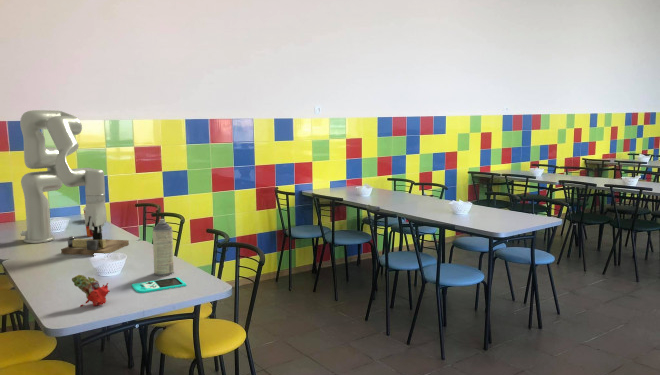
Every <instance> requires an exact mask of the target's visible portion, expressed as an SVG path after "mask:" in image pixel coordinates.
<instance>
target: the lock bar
mask: <svg viewBox="0 0 660 375" xmlns="http://www.w3.org/2000/svg"><path fill="white" fill-rule="evenodd" d="M104 239H105V238H104ZM104 239H103V238H102V239H93V238H75V236H73V235H71V236H69V237H68V238H67V247H87V240H98V245H99V248H104V247H106V240H104Z"/></svg>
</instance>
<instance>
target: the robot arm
mask: <svg viewBox="0 0 660 375" xmlns="http://www.w3.org/2000/svg"><path fill="white" fill-rule="evenodd" d="M19 125H20V130H21V133H22V136H23V138H22V139H23V159H24V164H25V167H26V168H28V169H31V170H38V171H32V172H30V171H29V172H27V173H25V174H24V175H23V176H21V180H20V185H21V189H22V192H23V196H24V205H25V220H26V222H25V223H26V230H22V231H21V232H20V234H19V235H20V236H23V237H24V238H23V243H27V244H41V243H47V242H52V241H54V240H55V239H56V238H55V235H52V234H51V232H52V230H51V220H50V219H51V218H50V203H49V199H48V197H46V195H45V194H44V193H45V192H54V191H58V190H60V189H61V188H62V186H63V185H64V186H65V187H68V188H75V187H85V188H84V190H85V206H84V207H85V215H84V226H85V227H86V226H87V227H88V226H89V230H92V233H93V237H92V239H103V227H104V226H105V224H106V223H107V207H106V187H105V186H106V185H105V182H106V181H105V172H104V170H103V169H99V168H98V169H97V168H96V169H95V168H91V167H77V168H76V167H75V168H70V166H69V164H68V162H67V157H68V156H69V155H72V154H74V153H75V152H76V151H77V150H78V149H79V147H80V146H79V145H80V144H79V142H78V141H77V138H76V135H80V133H81V132H82V130H83V127H82V126H83V124H82V122H81V120H80V119H79V118H78V117H76V116H75V115H73V114H71V113H67V112H65V111H62V110H47V109H46V110H45V109H42V110H41V109H39V110H37V109H36V110H35V109H33V110H27V111H26V112H24V113H22V115H21V117H20V122H19ZM41 130H47V131H48V134H49V135H50V137H51V139H52V141H53V143H54V146H55V147H52V146H51V147H50V146H47V147H46V138H45V136H44V134H43V133H42V131H41ZM39 169H40V171H39ZM41 169H46V170H43V171H41Z"/></svg>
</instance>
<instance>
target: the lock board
mask: <svg viewBox="0 0 660 375" xmlns="http://www.w3.org/2000/svg"><path fill="white" fill-rule="evenodd" d="M104 240H106V247H104V248H99V245H98V240H87V247H68V246H66V247H64V248H61V249H60V250H61V251H60V252H61V255H74V256H75V255H77V256H78V255H79V256H94V255H93V254H94V253H109V254H111V253H114V252H116V251H117V250H120V249H123V248H124V247H127V246H129V245H130V242H129V241H130V240H129V239H128V240H127V239H105V238H104ZM115 250H116V251H115ZM113 251H114V252H113ZM110 252H111V253H110Z"/></svg>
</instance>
